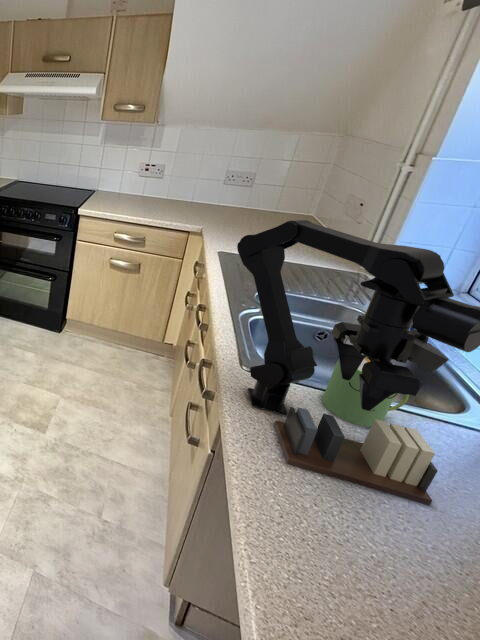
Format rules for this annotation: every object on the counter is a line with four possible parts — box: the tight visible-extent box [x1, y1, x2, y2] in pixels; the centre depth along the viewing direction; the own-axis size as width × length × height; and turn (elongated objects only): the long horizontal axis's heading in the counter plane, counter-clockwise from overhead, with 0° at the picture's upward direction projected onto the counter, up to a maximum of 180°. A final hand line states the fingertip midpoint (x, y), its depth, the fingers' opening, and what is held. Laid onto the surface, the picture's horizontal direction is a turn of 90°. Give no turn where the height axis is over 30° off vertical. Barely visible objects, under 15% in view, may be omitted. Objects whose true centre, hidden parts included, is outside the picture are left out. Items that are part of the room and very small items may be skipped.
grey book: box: [295, 407, 317, 455], centre depth 79 cm, size 6×2×6 cm, turn 156°
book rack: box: [273, 406, 439, 506], centre depth 77 cm, size 11×20×6 cm, turn 66°
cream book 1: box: [360, 419, 402, 477], centre depth 75 cm, size 6×2×8 cm, turn 156°
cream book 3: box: [403, 426, 436, 486], centre depth 73 cm, size 6×2×8 cm, turn 156°
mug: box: [321, 357, 410, 428], centre depth 88 cm, size 13×10×12 cm
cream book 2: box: [387, 422, 419, 482], centre depth 74 cm, size 6×2×8 cm, turn 156°
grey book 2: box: [314, 412, 346, 463], centre depth 78 cm, size 6×2×6 cm, turn 156°
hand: (355, 393), depth 76 cm, fingers open, 9 cm apart
